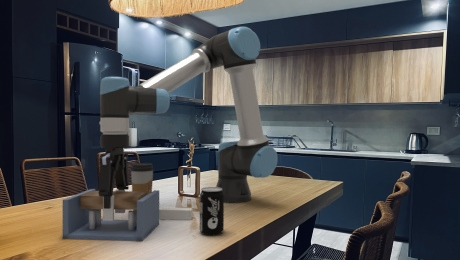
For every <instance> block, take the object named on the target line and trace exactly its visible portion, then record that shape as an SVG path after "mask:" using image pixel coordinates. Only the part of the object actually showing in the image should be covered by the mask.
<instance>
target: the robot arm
mask: <svg viewBox="0 0 460 260" xmlns="http://www.w3.org/2000/svg"><path fill="white" fill-rule="evenodd" d="M260 53H261V42H260V39H259V37H258V35H257V34H256V32H254V31H253V30H252V29H251V28H249V27H248V26H238V27H233V28H231V29H229V30H226V31H224V32H222V33H218V34H216V35H214V36H212V37H211V38H209V39H207V40H206V41H205V42H203V43H202V44H200V45H199V46H197V47H195V48H194V49H193V50H192V51H191V54H190V55H188V56H186V57H184V58H183V59H181V60H179V61H177V62H176V63H175V64H173V65H171V66H169V67H168V68H166V69H164V70H162V71H160V72H159V73H157V74H155V75H154V76H152V77H151V78H149V79H147V80H146V81H143V82H142V83H140V84H139V85H137V86H134V85H130V81H129V80H130V79H128V78H127V77H122V76H105V77H103V78H102V79H101V80H100V89H99V90H100V91H99V95H100V97H99V98H100V99H99V100H100V104H99V105H100V107H99V108H100V121H99V124H98V125H100V132H101V133H102V134H101V135H100V137H99V139H100V140H99V145H100V148H101V149H105V153H104V156H99V179H98V180H99V181H98V183H99V184H98V191H99V196H103V209H102V219H103V221H113V220H115V214H125V213H126V210H118V209H114V196H112V194H113V191H127V190H129V187H130V186H129V165H128V164H129V163H128V158H129V153H128V152H124V149H127V148H129V146H130V135H129V134H128V133H129V132H130V116H133V115H143V114H144V115H145V114H155V115H157V114H165V113H167V111H168V110H169V108H170V104H171V103H170V102H171V99H170V95H169V94H170V93H171V92H173V91H174V90H176V89H178V88H179V87H181V86H183V85H184V84H186V83H187V82H190V81H191V80H192V79H194V78H196V77H197V76H198V75H200V74H202V73H209V72H210V71H212V70H213V69H217V68H219V67H220V68H221V67H223V70H224V71H225V72H226V73H228V75H229V80H230V87H231V93H232V97H233V103H234V108H235V115H236V121H237V128H238V131H239V132H238V133H239V140H235V141H226V142H221V143H219V145H218V151H217V154H218V155H217V157H218V158H217V164H218V165H217V168H218V169H217V170H218V171H217V172H218V177H217V178H218V179H217V183H216V186H215V187H219V188H222V192H223V194H224V203H242V202H243V203H244V202H245V203H246V202H248V201H251V200H252V191H251V189H250V185H249V183H248V177H253V178H256V179H257V178H258V179H259V178H262V179H263V178H264V179H265V178H267V177H269V176H270V175H272V174H273V173H274V172H275V169H276V168H277V165H278V153H277V151H276V149H274V147H272V146H271V145H270V143H269V142H270V141H269V138H268V137H267V136H265V135H264V131H263V125H262V118H261V113H260V112H261V111H260V107H259V106H260V105H259V98H258V94H257V87H256V81H255V75H254V69H255V67H256V66H257V61H256V60H257V59H256V58H258V56H259V55H260ZM115 185H116V186H115ZM114 186H115V187H116V189H115V190H114V188H115V187H114Z"/></svg>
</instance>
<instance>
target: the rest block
mask: <svg viewBox="0 0 460 260" xmlns="http://www.w3.org/2000/svg"><path fill="white" fill-rule="evenodd" d="M192 219H193V207H159V220H168V221H170V220H171V221H173V220H174V221H175V220H176V221H177V220H178V221H191V220H192Z"/></svg>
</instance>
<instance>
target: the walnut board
mask: <svg viewBox="0 0 460 260" xmlns="http://www.w3.org/2000/svg"><path fill="white" fill-rule="evenodd" d="M146 195H147V192H139V191H132V190H131V191H130V190H129V191H127V190H125V191H115V190H113V194H112V196H114V210H115V209H118V210H125V211H126V210H128V211H133V210H137V201H138V200H140V199H141V198H143V197H145V196H146ZM80 209H101V210H103V196H99V190H96V191H91V192H89V193H86V194H84V195H81V196H80Z"/></svg>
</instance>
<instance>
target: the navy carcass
mask: <svg viewBox="0 0 460 260" xmlns="http://www.w3.org/2000/svg"><path fill="white" fill-rule="evenodd" d="M91 191H97V189H96V188H90V189H87V190H85V191H81V192H80V193H77V194H75V195H71V196H69V197H67V198H63V199H62V232H61V233H62V240H63V239H64V240H65V239H67V240H68V239H69V240H94V241H97V240H98V241H128V242H129V241H133V242H143V241H145V239H146V238H147V237H149V235H150V234H151V233H152V232H153V231H154V230H155V229H156V228H157V227H158V226H159V225H160V219H159V209H160V190H159V189H157V190H156V189H155V190H152V192H151V193H149V194H148V195H146V196H145V197H143V198H141V199H140V200H138V201H137V210H128V214H127V216H128V219H114V220H113V221H103V218H102V209H80V196H81V195H84V194H86V193H89V192H91Z"/></svg>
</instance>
